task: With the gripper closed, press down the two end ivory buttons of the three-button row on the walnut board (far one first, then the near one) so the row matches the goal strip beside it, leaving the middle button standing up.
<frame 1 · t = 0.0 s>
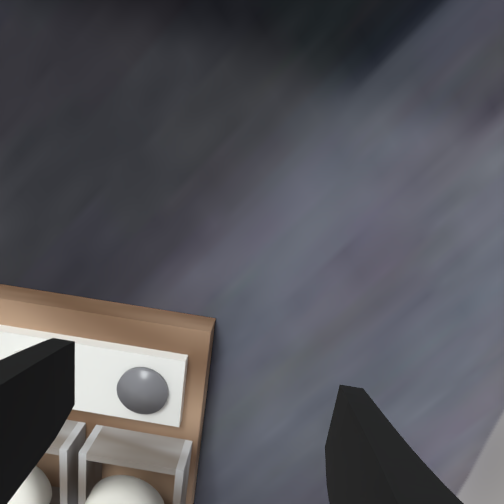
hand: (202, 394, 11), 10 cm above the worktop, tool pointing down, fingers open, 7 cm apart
goal strip: (36, 363, 21), resting on console
console: (53, 400, 24), on the worktop
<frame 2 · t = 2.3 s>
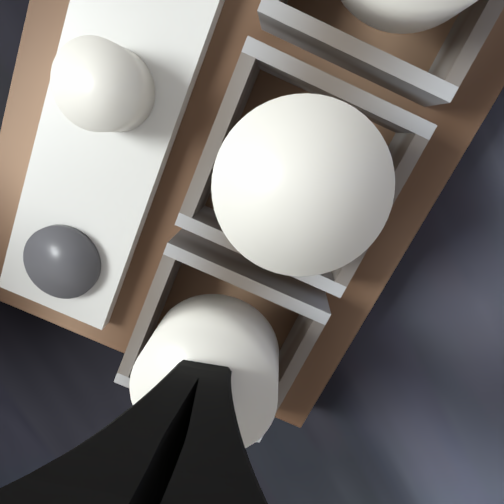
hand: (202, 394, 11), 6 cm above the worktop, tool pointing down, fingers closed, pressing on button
goal strip: (124, 92, 13), resting on console
button mid: (299, 184, 10), point 5 cm above the worktop, slide at 0.0 cm
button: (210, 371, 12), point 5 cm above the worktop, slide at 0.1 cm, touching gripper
console: (231, 137, 14), on the worktop
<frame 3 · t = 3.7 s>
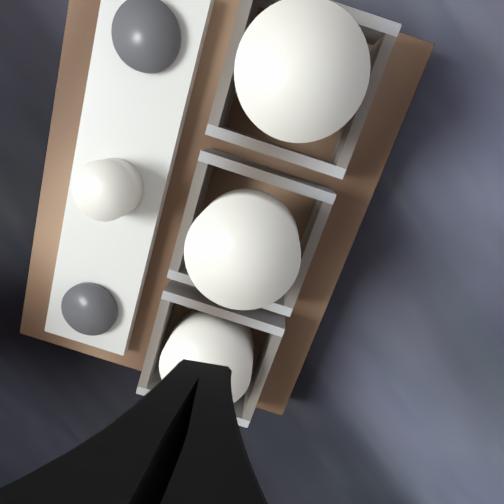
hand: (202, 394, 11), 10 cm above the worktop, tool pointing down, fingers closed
goal strip: (121, 184, 18), resting on console
button mid: (244, 247, 15), point 5 cm above the worktop, slide at 0.0 cm
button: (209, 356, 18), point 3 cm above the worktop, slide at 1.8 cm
console: (203, 203, 19), on the worktop
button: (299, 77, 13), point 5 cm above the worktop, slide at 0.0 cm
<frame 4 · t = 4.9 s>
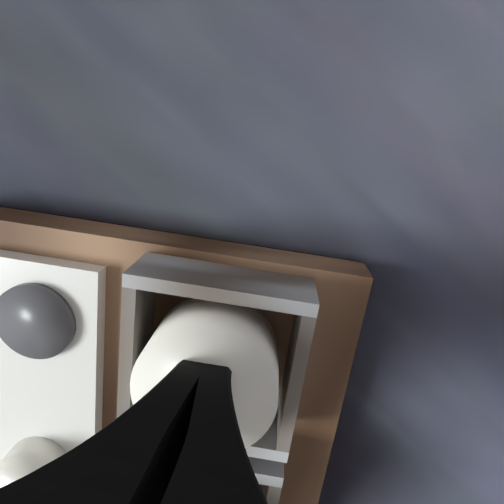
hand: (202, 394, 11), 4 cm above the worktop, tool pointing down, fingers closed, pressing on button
goal strip: (50, 450, 16), resting on console
console: (151, 437, 17), on the worktop
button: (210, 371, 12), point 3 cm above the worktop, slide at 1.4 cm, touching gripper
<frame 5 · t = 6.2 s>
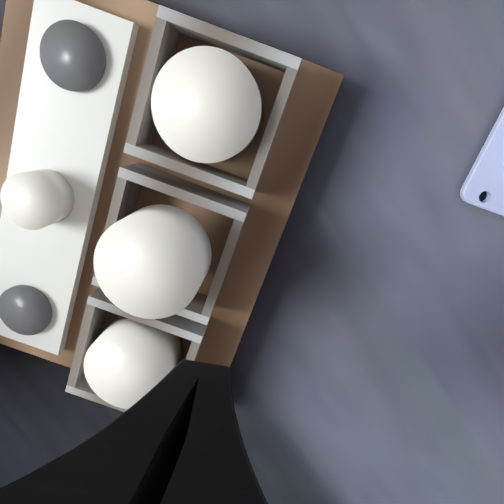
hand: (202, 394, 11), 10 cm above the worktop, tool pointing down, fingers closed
goal strip: (55, 193, 19), resting on console
button mid: (156, 259, 16), point 5 cm above the worktop, slide at 0.0 cm
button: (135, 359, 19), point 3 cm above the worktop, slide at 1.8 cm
console: (138, 213, 20), on the worktop
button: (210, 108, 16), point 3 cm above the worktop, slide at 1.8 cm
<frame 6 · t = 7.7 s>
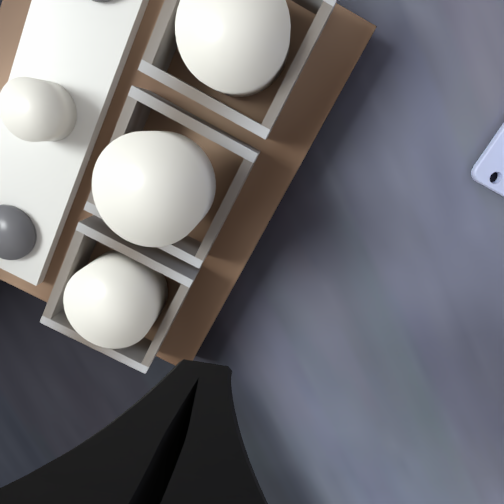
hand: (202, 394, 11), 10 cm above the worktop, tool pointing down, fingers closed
goal strip: (57, 112, 18), resting on console
button mid: (157, 187, 15), point 5 cm above the worktop, slide at 0.0 cm
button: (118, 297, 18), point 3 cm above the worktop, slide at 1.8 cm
console: (140, 148, 19), on the worktop
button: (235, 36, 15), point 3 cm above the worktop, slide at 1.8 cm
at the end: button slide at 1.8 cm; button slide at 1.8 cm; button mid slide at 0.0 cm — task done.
